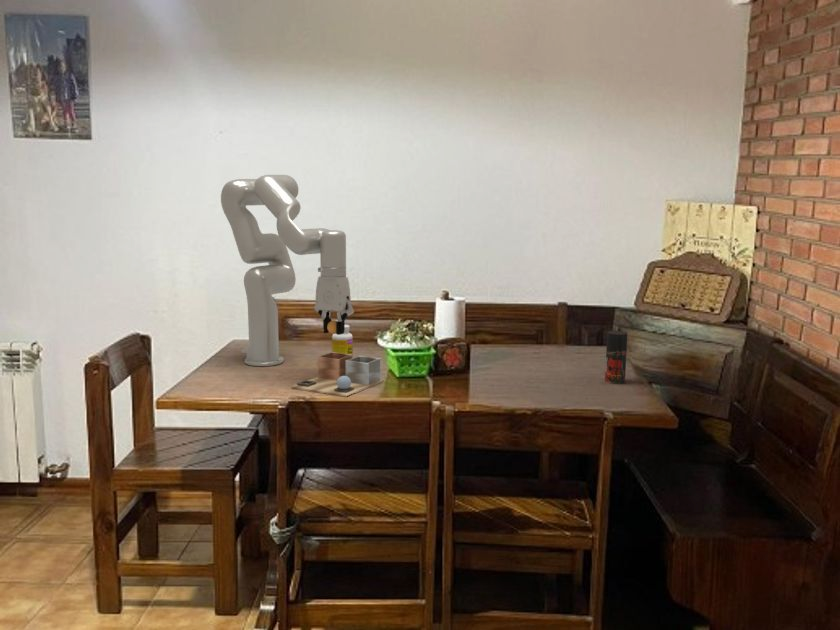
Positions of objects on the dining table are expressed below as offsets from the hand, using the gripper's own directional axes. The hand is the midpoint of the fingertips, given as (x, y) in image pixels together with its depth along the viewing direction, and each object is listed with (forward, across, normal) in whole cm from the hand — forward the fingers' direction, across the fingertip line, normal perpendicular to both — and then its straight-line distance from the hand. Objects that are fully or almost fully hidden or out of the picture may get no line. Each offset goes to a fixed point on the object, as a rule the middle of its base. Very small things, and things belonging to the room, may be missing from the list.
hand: (333, 332), depth 244 cm
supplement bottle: (+14, -8, +16) cm, 23 cm away
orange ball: (-2, 0, 0) cm, 2 cm away
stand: (+14, +5, -6) cm, 16 cm away
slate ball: (+11, +11, -11) cm, 20 cm away
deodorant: (+14, +75, +40) cm, 86 cm away
